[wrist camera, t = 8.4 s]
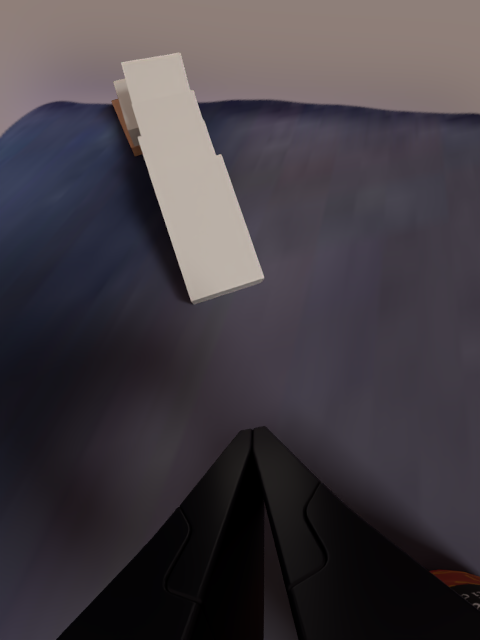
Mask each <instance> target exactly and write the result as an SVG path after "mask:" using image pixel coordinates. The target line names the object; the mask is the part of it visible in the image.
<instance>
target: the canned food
mask: <svg viewBox="0 0 480 640" xmlns="http://www.w3.org/2000/svg"><path fill="white" fill-rule="evenodd" d="M430 572H431V573H432V574H433V575H435V576H436V577H437V578H439V579H440V580H441V581H442V582H444V583H445V584H446V585H448V586H449V587H450V588H451V589H453V590H454V591H455V592H457V593H458V594H459V595H460V596H462V597H463V598H464V599H466V600H467V601H468V602H469V603H471V604H472V605H473V606H475V607H476V608H477V609H478V610H480V577H478V576H475V575H472V574H469V573H466V572H461V571H452V570H441V569H438V570H432V571H430Z"/></svg>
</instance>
